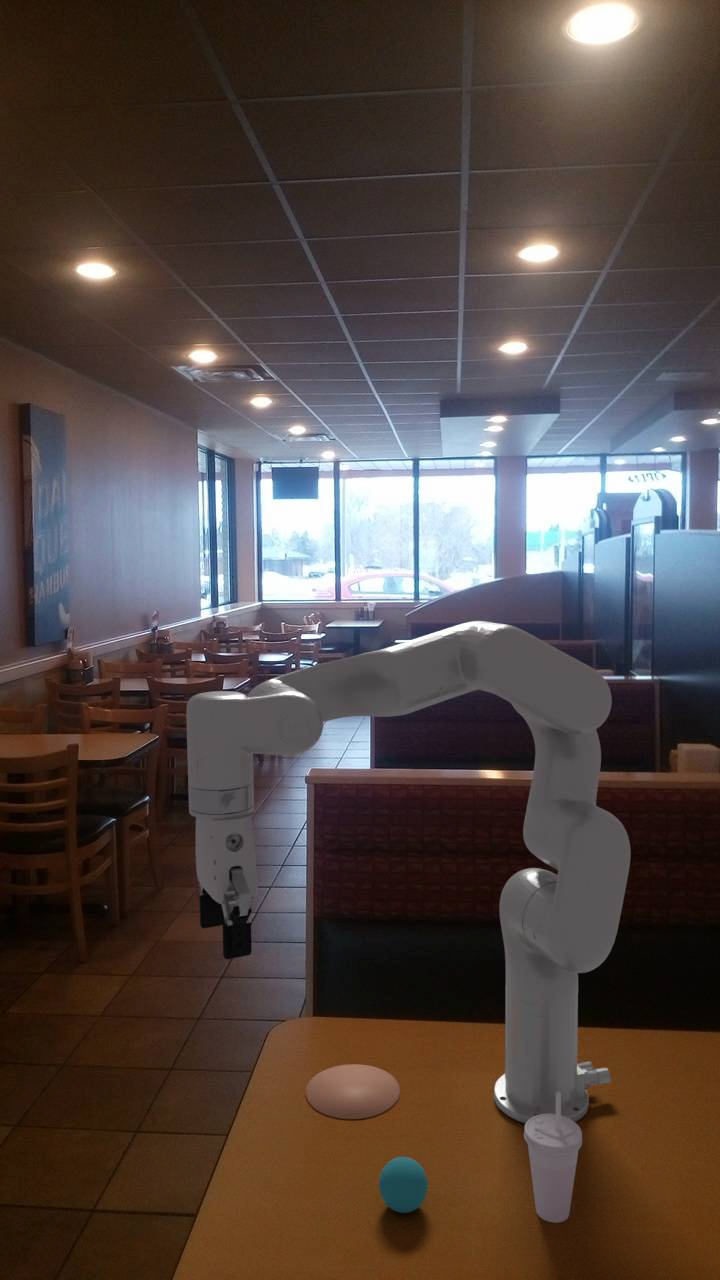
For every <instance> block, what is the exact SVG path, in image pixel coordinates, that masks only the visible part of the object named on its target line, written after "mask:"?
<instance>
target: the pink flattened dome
mask: <svg viewBox="0 0 720 1280" xmlns="http://www.w3.org/2000/svg"><path fill="white" fill-rule="evenodd" d="M400 1088H401V1087H400V1085H399V1082H398V1081H397V1079H396V1078H395V1077H394V1076H393V1075H392V1074H390V1073H389V1072H387V1071H385V1070H384V1069H381V1068H379V1067H376V1066H372V1065H367V1064H356V1063H354V1064H342V1065H341V1064H340V1065H336V1066H333V1067H329V1068H327V1069H324V1070H322V1071H320V1072H319V1073H317V1074H315V1075H314V1076H313V1077H312V1078H311V1079H310V1080H309V1082H308V1083H307V1086H306V1088H305V1096H306V1097H305V1098H306V1100H307V1102H308V1103H309V1105H310V1106H311V1107H312V1108H313V1109H314V1110H316V1111H318V1112H319V1113H321V1114H323V1115H325V1116H327V1117H331V1118H337V1119H341V1120H361V1119H367V1118H368V1119H369V1118H372V1117H376V1116H378V1115H381V1114H383V1113H384V1112H386V1111H388V1110H390V1109H391V1108H392V1107H394V1105H396V1103H397V1102H398V1100H399V1099H400V1094H401V1089H400Z"/></svg>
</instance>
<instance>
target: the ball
mask: <svg viewBox="0 0 720 1280" xmlns="http://www.w3.org/2000/svg"><path fill="white" fill-rule="evenodd" d="M378 1187H379V1193H380V1195H381V1198H382V1200H383V1202H384V1203H385V1205H386V1206H387V1207H388V1208H389V1209H391V1211H395V1212H397V1213H401V1214H407V1213H411V1212H414V1211H415V1210H418V1208H420V1206H421V1205H422V1204H423V1202H424V1201H425V1199H426V1197H427V1194H428V1188H429V1187H428V1178H427V1175H426V1172H425V1169H424V1168H423V1167H422V1166H421V1164H420V1163H419V1162H418V1161H416V1160H415V1159H414V1158H411V1157H407V1156H398V1157H394V1158H393V1159H391V1160H389V1161H388V1162H387V1163H386V1165H385V1166H384V1167H383V1168H382V1170H381V1172H380V1176H379V1180H378Z"/></svg>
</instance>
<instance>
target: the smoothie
mask: <svg viewBox="0 0 720 1280" xmlns="http://www.w3.org/2000/svg"><path fill="white" fill-rule="evenodd" d="M523 1137H524V1140H525V1142H526V1143H527V1148H528V1156H529V1164H530V1172H531V1173H530V1174H531V1180H532V1190H533V1196H534V1197H533V1198H534V1205H535V1213H536V1214H537V1215H538V1217H540V1219H542V1220H544V1221H546V1222H549V1223H553V1224H556V1223H557V1224H558V1223H562V1222H566V1220H568V1218H569V1217H570V1211H571V1204H572V1197H573V1191H574V1182H575V1177H576V1170H577V1169H576V1168H577V1162H578V1155H579V1150H580V1148H581V1147H582V1145H583V1144H582V1143H583V1133H582V1129H581V1127H580V1125H578V1123H576V1122H574V1121H572V1120H571V1119H569V1118H567V1117H564V1116H561V1093H560V1092H556V1114H540V1115H536V1116H534V1117H532V1118H530V1119H529V1120H528V1121H527V1122H526V1124H525V1123H524V1132H523Z"/></svg>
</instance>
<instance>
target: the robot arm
mask: <svg viewBox="0 0 720 1280" xmlns="http://www.w3.org/2000/svg"><path fill="white" fill-rule="evenodd" d="M479 690H480V691H483V692H487V693H490V694H493V695H496V696H498V697H500V698H501V699H503V700H505V701H507V702H508V703H510V704H511V705H512V707H513V708H514V710H515V711H516V712H517V713H518V714H519V715H520V716H522V718H523V720H525V722H526V724H527V725H528V727H529V730H530V731H531V734H532V738H533V741H534V746H535V747H534V749H535V756H534V766H533V774H532V779H531V784H530V789H529V795H528V800H527V805H526V809H525V810H526V811H525V816H524V821H523V828H522V834H523V835H522V837H523V842H524V844H525V847H526V848H527V850H528V851H529V852H530V853H531V854H532V855H534V856H535V857H536V858H537V859H538V860H541V862H544V864H546V865H548V866H550V867H551V868H554V869H555V870H557V874H556V873H554V872H553V871H550V870H547V869H543V868H538V867H529V868H525V869H521V870H519V871H517V872H516V873H514V874H513V875H512V876H510V878H509V879H508V880H507V881H506V883H505V884H504V887H503V888H502V890H501V894H500V897H499V921H500V927H501V933H502V940H503V946H504V961H505V1035H504V1036H505V1047H504V1048H505V1053H504V1054H505V1063H504V1065H505V1072H504V1074H502V1075H501V1076H500V1077H499V1078H498V1079H497V1080H496V1082H495V1084H494V1087H493V1099H494V1102H495V1104H496V1106H497V1108H498V1109H500V1111H502V1113H504V1114H505V1115H506V1116H508V1117H509V1118H511V1119H512V1120H515V1121H517V1122H520V1123H522V1124H524V1125H525V1124H526V1122H527V1121H528V1120H529V1119H530V1118H532V1117H534V1116H536V1115H540V1114H556V1092H560V1093H561V1116H564V1117H567V1118H569V1119H571V1120H572V1121H574V1122H575V1123H576V1122H577V1121H579V1120H580V1119H582V1118H583V1117H584V1116H585V1115H586V1114H587V1112H588V1110H589V1102H590V1101H589V1100H590V1099H589V1094H588V1091H587V1089H590V1088H591V1085H592V1086H593V1085H602V1084H609V1083H611V1079H612V1076H611V1072H610V1070H609V1069H608V1067H600V1068H599V1067H598V1068H594V1066H593V1063H592V1061H583V1062H580V1063H578V1028H579V1027H578V1025H579V1023H578V1021H579V1020H578V1019H579V1018H578V1016H579V1015H578V1013H579V1012H578V1011H579V1010H578V1008H579V1005H578V1004H579V1003H578V1001H579V997H578V995H579V974H584V973H588V972H591V971H594V970H595V969H596V968H598V967H599V966H601V964H602V963H604V962H605V960H606V959H607V958H608V957H609V954H610V953H611V951H612V948H613V947H614V944H615V941H616V938H617V937H616V936H617V934H618V929H619V924H620V920H621V914H622V909H623V905H624V898H625V894H626V888H627V884H628V883H627V882H628V878H629V872H630V865H631V853H632V852H631V851H632V850H631V845H630V844H631V843H630V839H629V835H628V833H627V830H626V828H625V826H624V824H623V823H622V822H621V821H620V820H619V818H618V817H616V816H615V815H614V814H612V813H611V812H610V811H608V810H606V809H603V808H601V807H599V806H597V796H598V795H597V794H598V788H599V779H600V772H601V765H602V764H601V762H602V750H601V743H600V742H601V741H600V739H599V734H598V732H597V729H598V728H600V727H601V726H602V725H603V724H604V723H605V722H606V720H607V719H608V717H609V716H610V712H611V709H612V704H613V702H612V693H611V688H610V686H609V685H608V682H607V680H606V679H605V678H604V676H602V674H601V673H600V672H599V671H598V670H596V669H595V668H593V667H592V666H590V665H588V664H586V663H584V662H582V661H580V660H579V659H577V658H575V657H573V656H571V655H569V654H567V653H565V652H564V651H562V650H559V649H558V648H556V647H555V646H553V645H551V644H550V643H548V642H546V641H544V640H542V639H540V638H538V637H536V636H535V635H533V634H531V633H529V632H527V631H525V630H523V629H521V628H519V627H516V626H514V625H510V624H506V623H497V622H491V621H484V620H472V621H467V622H464V623H459V624H456V625H453V626H450V627H447V628H444V629H441V630H438V631H433V632H432V633H429V634H425V635H423V636H419V637H416V638H413V639H410V640H407V641H405V642H404V641H403V642H401V643H398V644H395V645H391V646H388V647H385V648H382V649H379V650H374V651H368V652H364V653H359V654H356V655H353V656H349V657H344V658H340V659H336V660H331V661H327V662H322V663H318V664H314V665H311V666H307V667H304V668H301V669H298V670H294V671H292V672H288V673H285V674H283V675H279V676H276V677H274V678H270V679H268V680H265V681H263V682H261V683H259V684H257V685H256V686H255V687H254V688H252V689H251V690H250V691H249V692H248V693H247V695H246V694H244V693H242V692H239V691H232V690H231V691H229V690H228V691H227V690H219V691H218V690H217V691H207V692H199V693H196V694H195V695H193V696H191V697H190V698H189V700H188V701H187V703H186V712H185V713H186V718H185V719H186V741H187V742H186V745H187V747H186V749H187V751H186V752H187V753H186V754H187V776H188V778H187V781H188V783H187V785H188V787H187V788H188V814H190V816H192V817H195V868H196V876H197V881H198V882H199V885H198V891H199V894H200V895H199V896H198V897H199V898H198V899H199V926H200V927H201V928H202V929H208V928H214V927H219V926H222V956H223V958H224V959H225V960H232V959H236V958H237V959H238V958H241V957H247V956H250V955H251V954H252V950H253V949H252V914H251V913H252V911H253V909H252V906H251V902H252V900H254V899H256V898H257V896H258V893H259V892H258V890H259V889H258V875H257V874H258V872H257V858H256V847H255V846H256V844H255V838H254V837H255V836H254V829H253V828H254V827H253V822H252V817H251V813H253V812H254V811H255V796H254V795H255V792H254V791H255V789H254V787H255V786H254V781H255V780H254V779H255V778H254V754H255V755H257V754H259V755H270V756H296V755H299V754H303V753H305V752H307V751H309V750H310V749H311V748H313V747H314V746H315V745H316V744H317V743H318V742H319V740H320V737H321V736H322V733H323V730H324V723H326V722H329V721H333V720H338V719H342V718H344V719H345V718H350V717H375V718H377V717H379V718H386V717H388V718H389V717H397V716H399V717H400V716H404V715H408V714H411V713H413V712H416V711H419V710H423V709H425V708H427V707H431V706H433V705H436V704H439V703H442V702H445V701H448V700H450V699H453V698H457V697H459V696H463V695H466V694H468V693H471V692H474V691H479ZM230 894H231V895H230ZM232 894H235V895H232ZM227 895H228V896H227ZM235 904H236V905H235ZM230 905H234V906H233V909H232V910H231V907H230Z"/></svg>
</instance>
